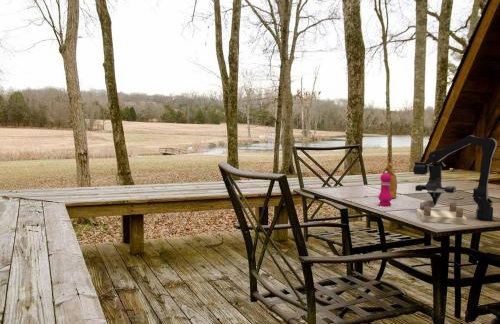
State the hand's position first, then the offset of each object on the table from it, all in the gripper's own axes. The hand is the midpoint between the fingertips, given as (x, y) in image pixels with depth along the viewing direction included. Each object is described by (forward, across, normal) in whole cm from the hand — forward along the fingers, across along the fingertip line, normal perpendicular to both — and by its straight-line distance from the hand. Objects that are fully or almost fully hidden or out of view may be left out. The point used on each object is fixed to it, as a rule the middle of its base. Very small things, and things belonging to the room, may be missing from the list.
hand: (435, 205), depth 218 cm
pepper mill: (+4, -29, +5) cm, 30 cm away
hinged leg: (+1, -3, -4) cm, 5 cm away
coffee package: (+3, -38, +33) cm, 50 cm away
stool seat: (+5, +6, -12) cm, 14 cm away
